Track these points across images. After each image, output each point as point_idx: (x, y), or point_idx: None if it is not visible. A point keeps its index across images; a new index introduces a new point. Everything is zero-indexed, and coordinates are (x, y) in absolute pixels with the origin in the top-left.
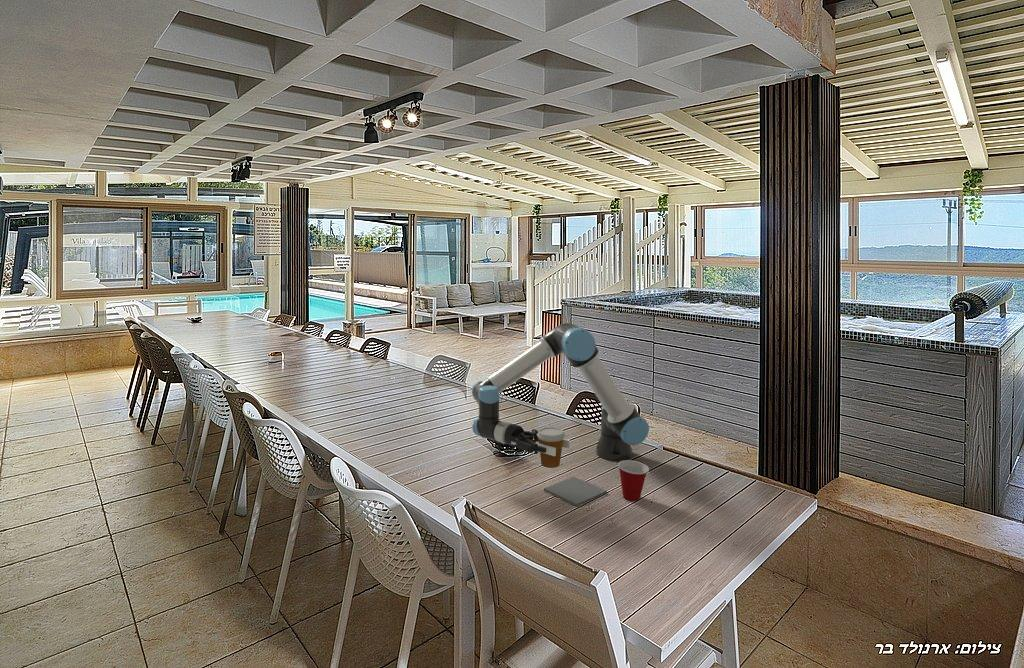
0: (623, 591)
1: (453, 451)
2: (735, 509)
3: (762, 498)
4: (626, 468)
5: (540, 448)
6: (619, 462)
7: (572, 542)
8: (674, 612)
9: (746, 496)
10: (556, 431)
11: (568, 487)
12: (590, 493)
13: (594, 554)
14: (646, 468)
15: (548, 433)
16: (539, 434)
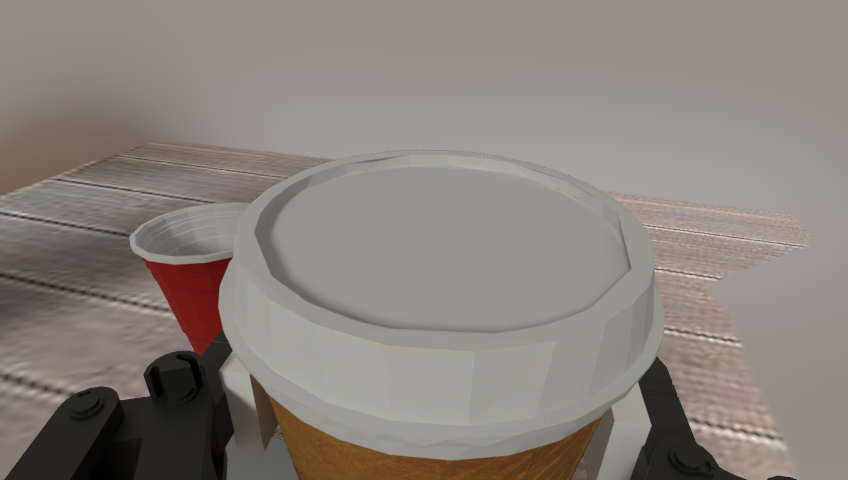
0: (744, 263)
1: None
2: (242, 190)
3: (168, 170)
4: (159, 277)
5: (676, 400)
6: (177, 257)
7: (700, 403)
8: (702, 212)
9: (161, 183)
10: (374, 202)
11: None
12: (264, 470)
13: (687, 335)
14: (191, 215)
15: (515, 235)
16: (647, 311)
